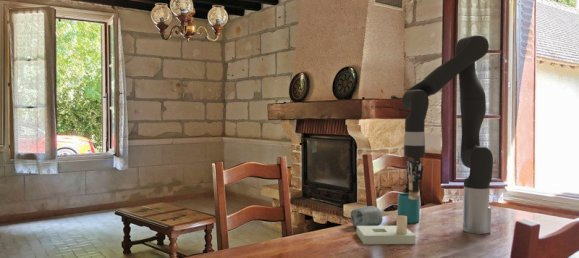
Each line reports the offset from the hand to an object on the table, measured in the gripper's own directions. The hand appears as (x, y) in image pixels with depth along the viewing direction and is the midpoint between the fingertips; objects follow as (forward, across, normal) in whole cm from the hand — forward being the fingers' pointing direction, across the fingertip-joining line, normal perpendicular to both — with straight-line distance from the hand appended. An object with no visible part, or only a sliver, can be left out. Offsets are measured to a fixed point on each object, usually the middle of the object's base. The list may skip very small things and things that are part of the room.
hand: (413, 190), depth 172 cm
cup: (+17, +24, -6) cm, 30 cm away
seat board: (+17, -4, +12) cm, 21 cm away
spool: (+17, +14, +15) cm, 27 cm away
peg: (+3, 0, 0) cm, 3 cm away
